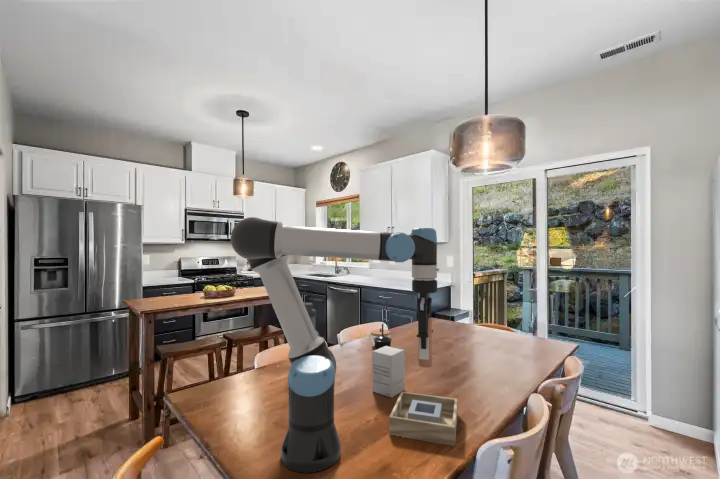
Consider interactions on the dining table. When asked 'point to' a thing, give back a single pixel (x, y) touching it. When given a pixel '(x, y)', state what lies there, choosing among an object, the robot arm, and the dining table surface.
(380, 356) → the supplement box
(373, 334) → the lidded jar
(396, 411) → the crate
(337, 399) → the dining table surface
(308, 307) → the water bottle
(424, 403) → the socket
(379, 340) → the drinking cup
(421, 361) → the peg
